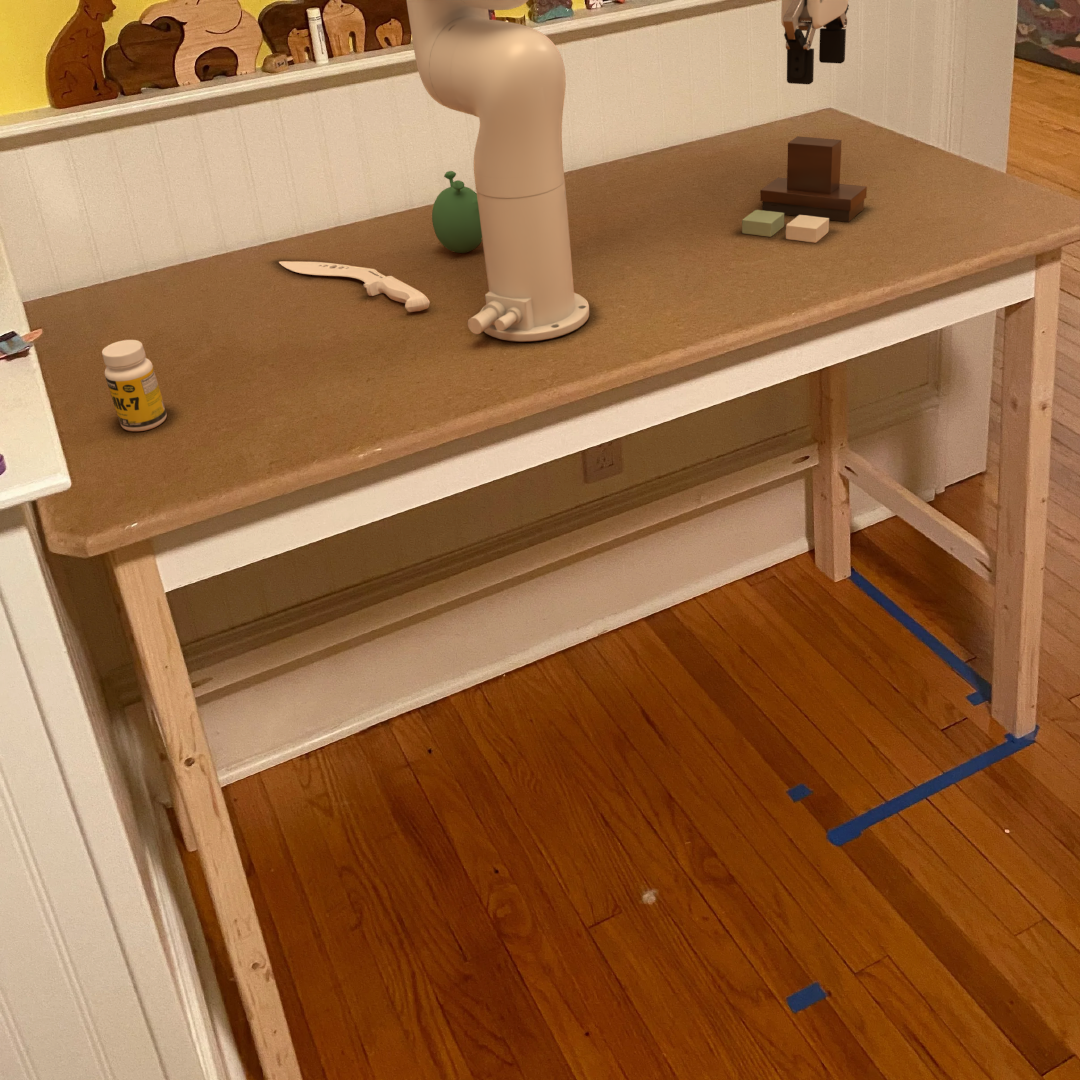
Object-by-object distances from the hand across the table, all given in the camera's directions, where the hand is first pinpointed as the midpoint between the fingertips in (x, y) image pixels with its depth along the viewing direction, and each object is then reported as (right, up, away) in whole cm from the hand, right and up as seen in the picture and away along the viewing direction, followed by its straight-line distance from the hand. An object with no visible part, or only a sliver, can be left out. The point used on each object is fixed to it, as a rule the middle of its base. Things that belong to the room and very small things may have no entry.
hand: (816, 72), depth 150 cm
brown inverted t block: (+2, -15, +9) cm, 17 cm away
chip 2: (-1, -20, +2) cm, 20 cm away
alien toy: (-44, -20, +9) cm, 49 cm away
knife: (-58, -26, +3) cm, 63 cm away
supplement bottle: (-75, -46, -24) cm, 91 cm away
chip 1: (-6, -18, +5) cm, 20 cm away
